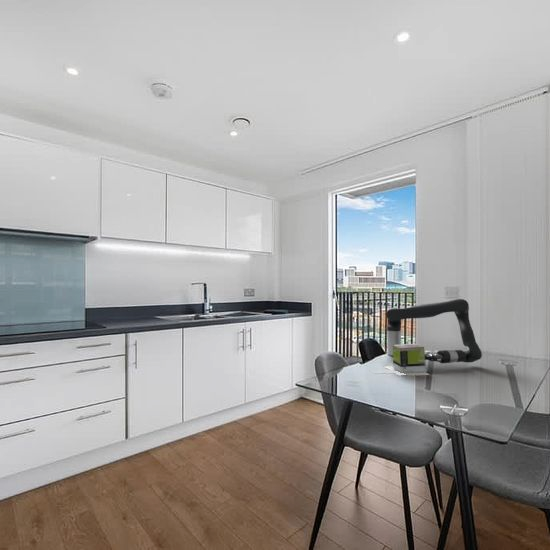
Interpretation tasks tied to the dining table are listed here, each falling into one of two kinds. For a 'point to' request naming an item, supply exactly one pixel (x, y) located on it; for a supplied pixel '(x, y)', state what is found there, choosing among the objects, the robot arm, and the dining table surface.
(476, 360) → the robot arm
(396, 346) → the tea box
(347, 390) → the dining table surface
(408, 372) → the T mat
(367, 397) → the dining table surface
